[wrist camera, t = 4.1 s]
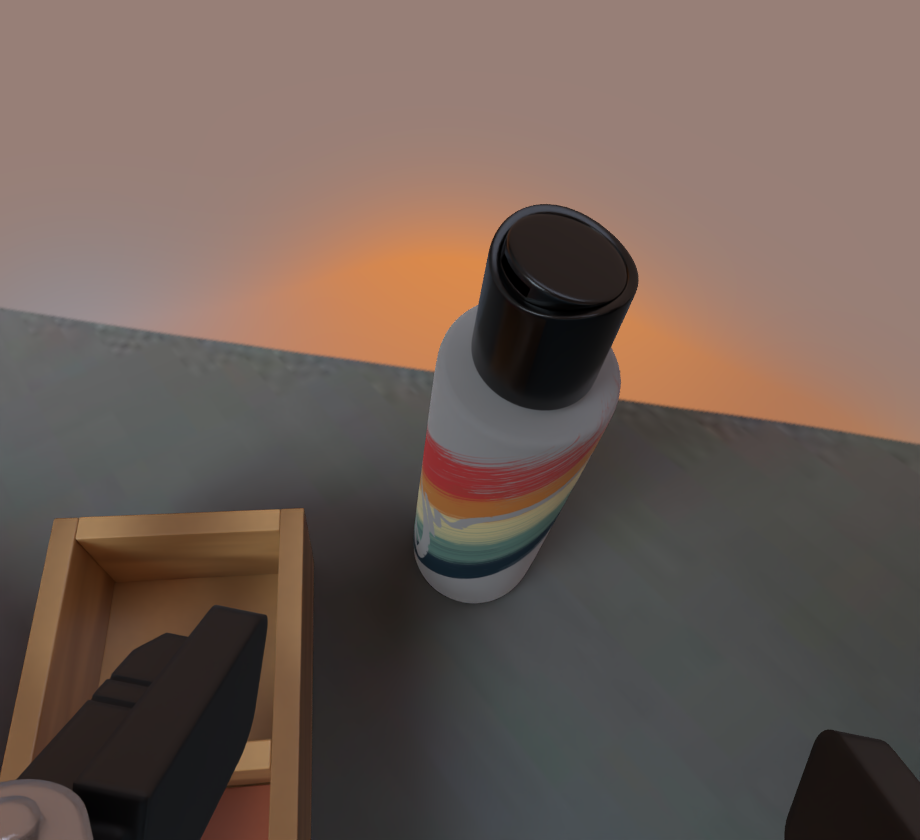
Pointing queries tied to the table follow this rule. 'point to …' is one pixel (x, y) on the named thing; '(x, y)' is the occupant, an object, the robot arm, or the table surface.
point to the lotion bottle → (520, 399)
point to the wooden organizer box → (178, 612)
